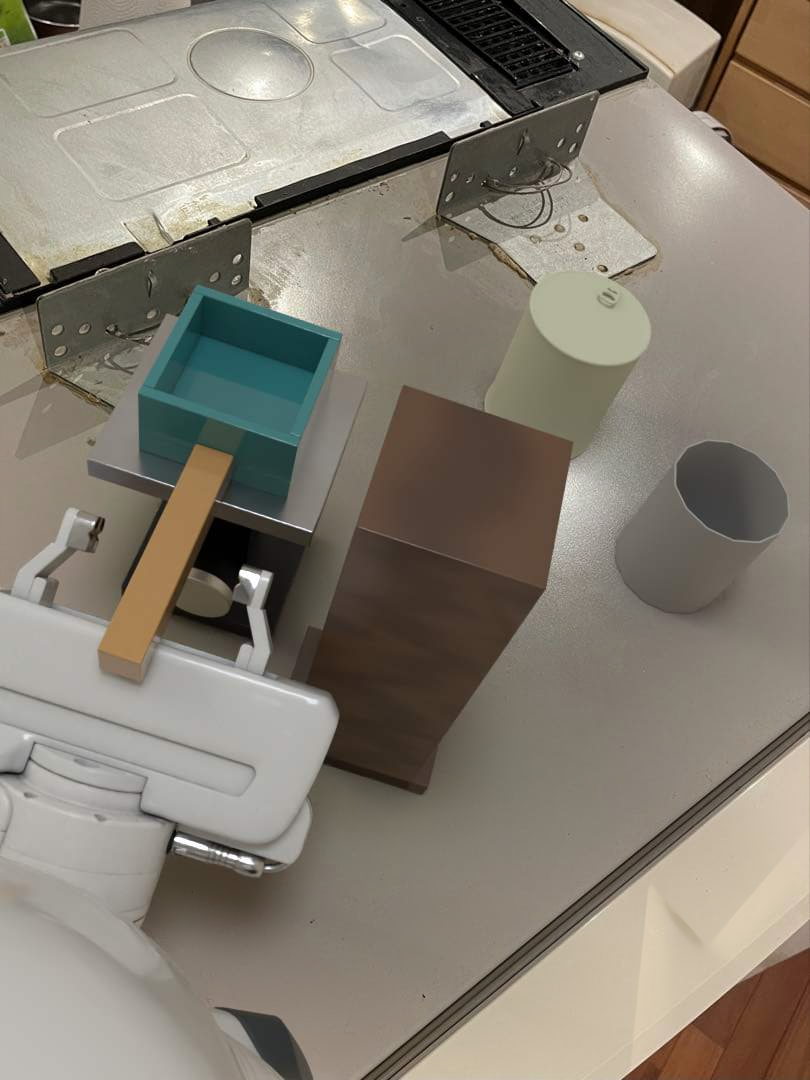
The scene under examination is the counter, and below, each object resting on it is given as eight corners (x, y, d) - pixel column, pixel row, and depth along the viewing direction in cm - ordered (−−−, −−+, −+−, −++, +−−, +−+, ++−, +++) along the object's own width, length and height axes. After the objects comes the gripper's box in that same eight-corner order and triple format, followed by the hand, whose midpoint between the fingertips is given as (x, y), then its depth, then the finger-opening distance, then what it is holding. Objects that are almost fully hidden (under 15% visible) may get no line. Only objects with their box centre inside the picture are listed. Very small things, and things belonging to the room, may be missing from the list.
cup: (593, 550, 74) (649, 473, 65) (660, 499, 78) (720, 421, 69) (675, 633, 71) (744, 565, 63) (740, 577, 75) (812, 505, 67)
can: (611, 414, 81) (675, 311, 71) (560, 483, 76) (622, 382, 66) (518, 354, 83) (568, 245, 73) (462, 418, 78) (508, 310, 68)
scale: (100, 605, 63) (86, 458, 50) (164, 474, 69) (166, 312, 56) (279, 663, 64) (313, 533, 50) (327, 528, 70) (368, 380, 56)
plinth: (268, 746, 61) (331, 518, 39) (306, 635, 65) (381, 376, 43) (422, 795, 61) (570, 597, 39) (449, 681, 66) (595, 448, 44)
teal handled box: (33, 650, 44) (22, 603, 40) (194, 342, 55) (197, 283, 51) (205, 705, 44) (210, 663, 41) (330, 388, 56) (343, 333, 52)
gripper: (286, 911, 43) (385, 610, 44) (-170, 769, 42) (-60, 464, 43) (293, 870, 50) (379, 607, 50) (-104, 746, 49) (-9, 480, 49)
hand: (173, 540), depth 47 cm, fingers open, 7 cm apart
